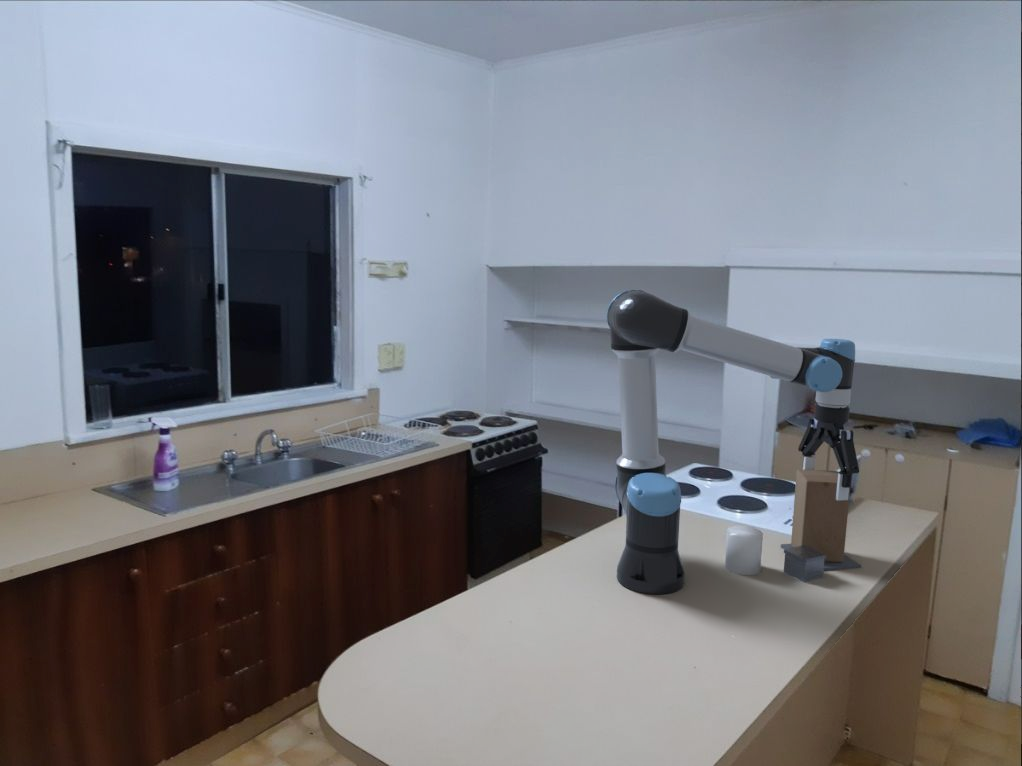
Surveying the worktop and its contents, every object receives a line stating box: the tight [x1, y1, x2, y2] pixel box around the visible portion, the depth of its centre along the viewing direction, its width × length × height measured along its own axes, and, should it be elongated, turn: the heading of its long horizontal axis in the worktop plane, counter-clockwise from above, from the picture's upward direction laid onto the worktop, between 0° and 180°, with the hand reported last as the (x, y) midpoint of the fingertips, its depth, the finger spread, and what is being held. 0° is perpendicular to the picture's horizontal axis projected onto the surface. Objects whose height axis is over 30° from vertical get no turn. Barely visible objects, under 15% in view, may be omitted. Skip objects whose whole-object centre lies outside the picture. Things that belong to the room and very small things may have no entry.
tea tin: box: [783, 545, 826, 583], centre depth 170 cm, size 6×6×6 cm
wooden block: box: [790, 469, 851, 563], centre depth 180 cm, size 10×10×20 cm
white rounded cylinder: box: [724, 525, 764, 576], centre depth 174 cm, size 8×8×9 cm
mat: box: [780, 543, 862, 572], centre depth 181 cm, size 12×15×1 cm
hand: (823, 490), depth 178 cm, fingers open, 13 cm apart
